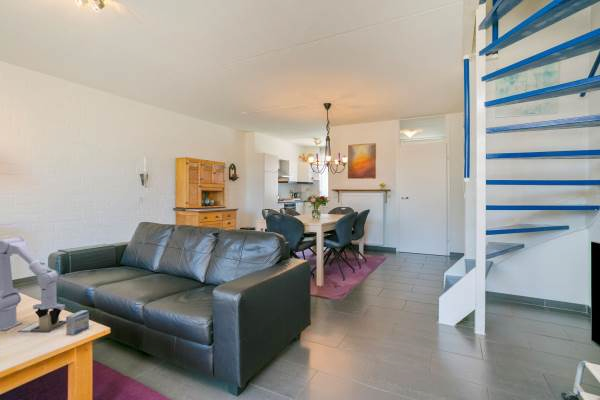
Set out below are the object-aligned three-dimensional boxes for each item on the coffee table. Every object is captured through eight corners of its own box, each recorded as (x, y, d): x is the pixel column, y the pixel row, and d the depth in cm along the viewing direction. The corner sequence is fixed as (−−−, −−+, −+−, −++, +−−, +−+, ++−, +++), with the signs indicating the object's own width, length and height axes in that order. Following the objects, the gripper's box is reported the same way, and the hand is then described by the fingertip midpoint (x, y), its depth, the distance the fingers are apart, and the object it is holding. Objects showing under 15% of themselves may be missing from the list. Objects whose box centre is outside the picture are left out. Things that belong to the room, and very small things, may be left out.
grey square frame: (30, 332, 138) (30, 329, 138) (50, 322, 148) (50, 320, 148) (48, 332, 138) (48, 329, 138) (66, 323, 148) (66, 320, 148)
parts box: (39, 330, 140) (39, 317, 140) (50, 324, 146) (50, 312, 146) (48, 330, 140) (48, 317, 140) (59, 324, 146) (58, 312, 146)
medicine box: (73, 335, 135) (73, 317, 135) (65, 334, 136) (65, 316, 136) (89, 327, 143) (89, 310, 143) (81, 327, 144) (81, 309, 144)
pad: (17, 331, 139) (17, 330, 139) (37, 322, 149) (37, 321, 149) (29, 332, 138) (29, 331, 138) (48, 322, 148) (48, 321, 148)
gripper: (26, 298, 139) (27, 326, 139) (56, 299, 139) (56, 327, 139) (40, 293, 146) (40, 320, 146) (68, 294, 146) (68, 321, 146)
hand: (49, 323), depth 143 cm, fingers closed on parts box, 4 cm apart
